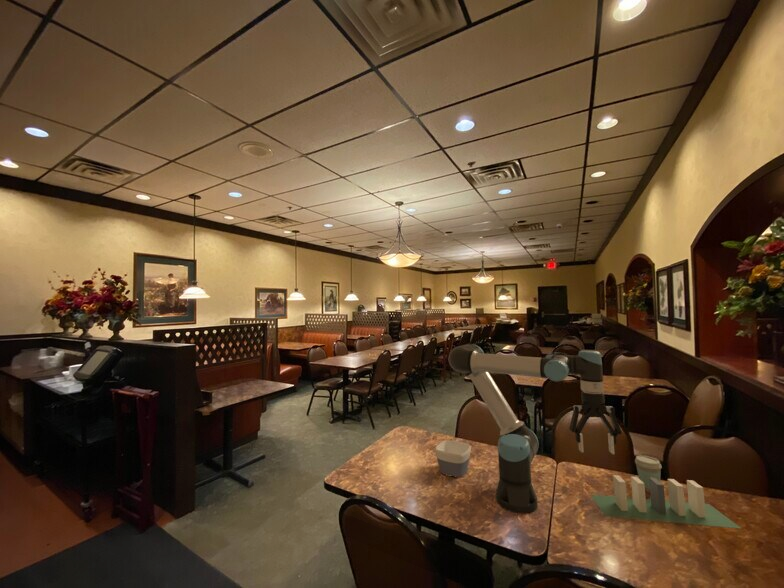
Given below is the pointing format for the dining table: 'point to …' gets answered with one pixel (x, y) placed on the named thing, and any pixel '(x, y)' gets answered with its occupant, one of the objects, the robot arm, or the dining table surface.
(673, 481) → the domino
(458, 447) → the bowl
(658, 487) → the slate domino
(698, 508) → the domino
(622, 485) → the domino
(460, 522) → the dining table surface
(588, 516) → the dining table surface
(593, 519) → the dining table surface
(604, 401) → the robot arm
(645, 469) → the coffee cup
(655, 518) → the mat
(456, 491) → the dining table surface
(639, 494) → the domino
